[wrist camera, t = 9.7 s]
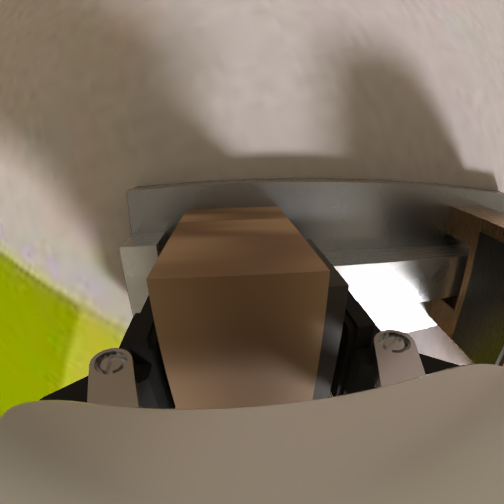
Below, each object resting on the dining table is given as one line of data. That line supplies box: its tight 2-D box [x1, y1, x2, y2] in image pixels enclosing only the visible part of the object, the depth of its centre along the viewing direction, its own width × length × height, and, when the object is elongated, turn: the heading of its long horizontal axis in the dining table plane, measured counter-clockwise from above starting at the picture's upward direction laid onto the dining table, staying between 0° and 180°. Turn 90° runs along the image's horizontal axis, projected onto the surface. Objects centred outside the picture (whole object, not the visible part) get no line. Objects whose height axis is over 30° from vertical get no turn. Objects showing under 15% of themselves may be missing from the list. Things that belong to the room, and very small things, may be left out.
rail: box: [119, 179, 504, 367], centre depth 12 cm, size 23×9×8 cm, turn 91°
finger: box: [146, 206, 349, 409], centre depth 11 cm, size 5×7×7 cm, turn 1°
